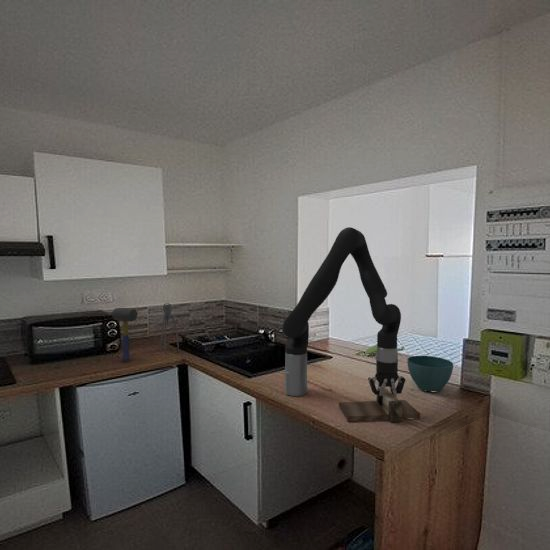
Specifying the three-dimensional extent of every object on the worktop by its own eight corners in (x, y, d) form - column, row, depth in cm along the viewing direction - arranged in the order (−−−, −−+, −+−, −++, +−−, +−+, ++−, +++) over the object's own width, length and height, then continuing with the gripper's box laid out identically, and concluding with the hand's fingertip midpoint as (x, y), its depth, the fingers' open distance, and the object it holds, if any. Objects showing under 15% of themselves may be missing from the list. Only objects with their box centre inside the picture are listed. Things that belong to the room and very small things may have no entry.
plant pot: (415, 378, 167) (416, 353, 167) (457, 388, 155) (458, 360, 155) (400, 389, 154) (400, 361, 153) (445, 400, 142) (446, 370, 141)
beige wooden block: (390, 421, 123) (391, 403, 123) (375, 404, 137) (375, 388, 137) (402, 421, 123) (402, 402, 123) (385, 404, 137) (385, 387, 137)
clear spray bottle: (161, 350, 223) (160, 302, 221) (178, 350, 222) (177, 302, 221) (155, 354, 213) (154, 304, 211) (173, 354, 212) (172, 304, 211)
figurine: (408, 356, 207) (409, 346, 207) (373, 362, 195) (373, 352, 195) (385, 348, 224) (385, 340, 224) (352, 354, 212) (352, 344, 212)
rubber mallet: (139, 360, 200) (138, 307, 199) (130, 364, 193) (128, 309, 192) (122, 358, 205) (120, 306, 203) (112, 361, 198) (110, 308, 196)
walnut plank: (348, 422, 124) (348, 416, 124) (339, 407, 136) (339, 402, 136) (419, 418, 126) (419, 413, 126) (404, 404, 138) (404, 399, 138)
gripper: (371, 362, 126) (371, 410, 127) (410, 361, 127) (409, 408, 128) (364, 356, 134) (364, 401, 134) (401, 355, 135) (400, 399, 136)
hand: (386, 404), depth 131 cm, fingers closed on beige wooden block, 4 cm apart
